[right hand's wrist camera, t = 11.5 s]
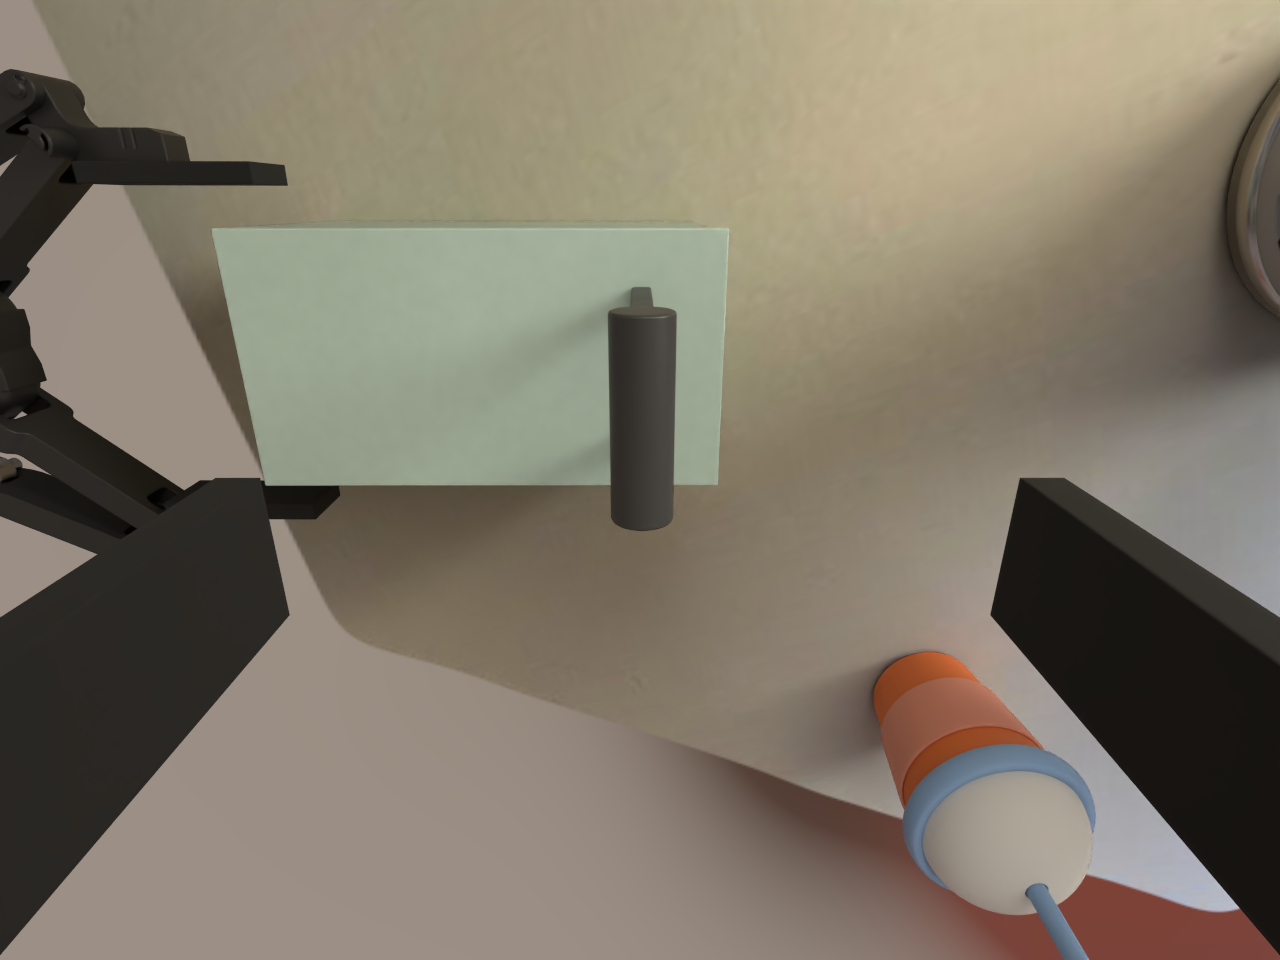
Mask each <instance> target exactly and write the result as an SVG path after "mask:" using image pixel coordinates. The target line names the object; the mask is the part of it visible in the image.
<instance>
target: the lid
mask: <svg viewBox="0 0 1280 960" xmlns="http://www.w3.org/2000/svg"><path fill="white" fill-rule="evenodd" d="M211 233H212V238H213V242H214V247H215V252H216V256H217V261H218V266H219V270H220V275H221V280H222V284H223V289H224V294H225V298H226V303H227V308H228V312H229V317H230V322H231V327H232V331H233V336H234V341H235V345H236V350H237V355H238V359H239V364H240V369H241V373H242V378H243V383H244V387H245V392H246V397H247V401H248V406H249V411H250V416H251V420H252V425H253V430H254V434H255V439H256V444H257V448H258V453H259V458H260V462H261V467H262V472H263V476H264V481H265V485H266V486H464V485H611V518H612V520H613V522H614V523H615V524H616V525H618V526H620V527H622V528H625V529H629V530H636V531H648V530H655V529H659V528H662V527H665V526H667V525H668V524H669V523H670V522H671V521H672V519H673V493H674V485H717V484H718V467H719V445H720V422H721V400H722V377H723V354H724V332H725V309H726V287H727V264H728V241H729V229H728V228H212V229H211Z"/></svg>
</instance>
